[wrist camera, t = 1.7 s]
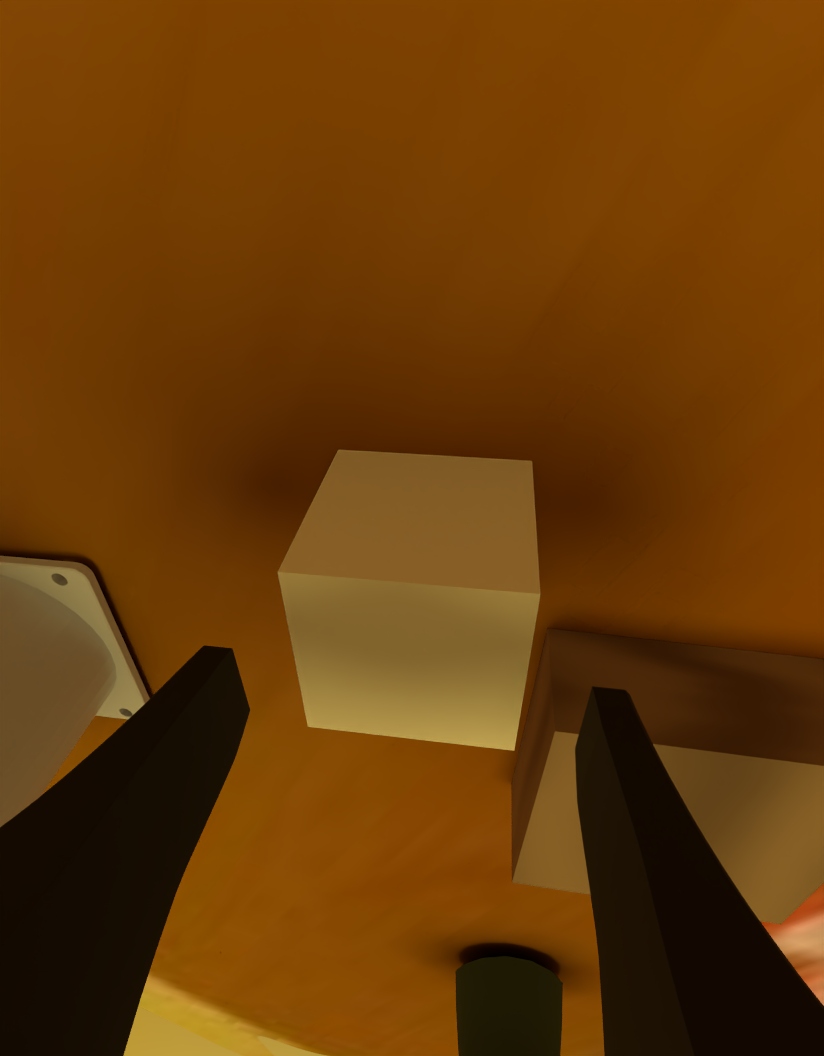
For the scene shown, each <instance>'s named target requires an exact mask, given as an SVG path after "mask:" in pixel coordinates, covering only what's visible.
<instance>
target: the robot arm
mask: <svg viewBox="0 0 824 1056" xmlns="http://www.w3.org/2000/svg"><path fill="white" fill-rule="evenodd" d="M249 712H250V708H249V705H248V701H247V698H246V694H245V691H244V687H243V684H242V680H241V677H240V674H239V670H238V667H237V663H236V660H235V656H234V653H233V649H232V648H223V647H213V646H203V647H202V648H201V649H200V650H199V651H198V652H197V653H196V654H195V655H194V656H193V657H192V658H190V659H189V660H188V661H187V662H186V663H185V664H184V665H183V666H182V667H181V668H180V669H179V670H178V671H177V672H176V673H175V674H174V675H173V676H172V677H171V678H170V679H169V680H168V681H167V682H166V683H165V684H164V685H163V686H162V687H161V688H160V689H159V690H158V691H157V692H156V693H155V694H154V695H153V696H152V697H151V698H149V696H148V694H147V691H146V689H145V687H144V685H143V682H142V680H141V678H140V676H139V673H138V671H137V669H136V667H135V664H134V662H133V660H132V658H131V656H130V653H129V651H128V649H127V647H126V644H125V642H124V640H123V638H122V635H121V633H120V631H119V629H118V626H117V624H116V622H115V620H114V618H113V615H112V613H111V611H110V609H109V606H108V604H107V602H106V600H105V597H104V595H103V593H102V591H101V588H100V586H99V584H98V582H97V580H96V577H95V575H94V573H93V572H92V570H91V569H90V568H88V567H87V566H86V565H84V564H82V563H77V562H68V561H57V560H45V559H33V558H22V557H10V556H0V1056H123V1055H124V1051H125V1048H126V1045H127V1041H128V1038H129V1035H130V1031H131V1028H132V1025H133V1021H134V1018H135V1015H136V1012H137V1008H138V1005H139V1002H140V998H141V995H142V992H143V989H144V986H145V983H146V980H147V977H148V974H149V971H150V968H151V965H152V962H153V958H154V955H155V952H156V949H157V946H158V943H159V940H160V937H161V935H162V932H163V929H164V926H165V923H166V920H167V917H168V914H169V912H170V909H171V906H172V903H173V900H174V897H175V894H176V892H177V889H178V887H179V884H180V882H181V879H182V877H183V874H184V872H185V869H186V867H187V865H188V862H189V860H190V858H191V856H192V853H193V851H194V849H195V847H196V845H197V842H198V840H199V838H200V836H201V834H202V831H203V829H204V827H205V825H206V822H207V820H208V818H209V816H210V814H211V811H212V809H213V807H214V805H215V802H216V800H217V798H218V796H219V794H220V791H221V789H222V787H223V784H224V782H225V780H226V778H227V775H228V773H229V771H230V769H231V766H232V764H233V762H234V759H235V757H236V754H237V751H238V747H239V744H240V741H241V738H242V735H243V732H244V729H245V725H246V722H247V719H248V715H249ZM94 716H104V717H112V718H121V719H128V720H127V721H126V722H125V723H124V724H123V725H122V726H121V727H120V728H119V729H118V730H117V731H116V732H114V733H113V734H112V735H111V736H110V737H109V738H108V739H107V740H106V741H105V742H103V743H102V744H101V745H100V746H99V747H98V748H97V749H96V750H94V751H93V752H92V753H91V754H90V755H89V756H88V757H86V758H85V759H84V760H83V761H82V762H81V763H80V764H78V765H77V766H76V767H75V768H74V769H73V770H72V771H70V772H69V773H68V774H67V775H66V776H65V777H63V778H62V779H61V780H60V781H59V782H57V783H56V784H55V785H54V786H53V787H51V788H50V789H49V790H48V791H46V792H45V793H44V794H43V795H42V793H43V792H44V791H45V789H46V788H47V786H48V785H49V783H50V782H51V780H52V779H53V777H54V776H55V774H56V773H57V771H58V770H59V768H60V767H61V765H62V764H63V762H64V761H65V759H66V758H67V756H68V755H69V754H70V752H71V751H72V749H73V748H74V746H75V745H76V743H77V742H78V740H79V739H80V737H81V736H82V734H83V733H84V731H85V730H86V728H87V727H88V725H89V724H90V722H91V721H92V719H93V718H94ZM575 763H576V788H577V805H578V812H579V819H580V826H581V833H582V840H583V847H584V854H585V860H586V867H587V874H588V881H589V887H590V894H591V901H592V908H593V914H594V921H595V928H596V936H597V945H598V954H599V967H600V983H601V998H602V1014H603V1032H604V1051H605V1056H824V1006H823V1005H822V1003H821V1002H820V1001H819V1000H818V998H817V997H816V996H815V995H814V993H813V992H812V991H811V990H810V988H809V987H808V986H807V985H806V983H805V982H804V981H803V979H802V978H801V977H800V976H799V974H798V973H797V972H796V970H795V969H794V967H793V966H792V965H791V963H790V962H789V961H788V959H787V958H786V957H785V955H784V954H783V953H782V951H781V950H780V948H779V947H778V946H777V944H776V943H775V942H774V940H773V939H772V938H771V936H770V935H769V933H768V932H767V931H766V929H765V928H764V926H763V925H762V923H761V922H760V921H759V919H758V918H757V916H756V915H755V913H754V912H753V911H752V909H751V908H750V906H749V905H748V903H747V902H746V901H745V899H744V898H743V896H742V895H741V893H740V892H739V890H738V889H737V887H736V886H735V884H734V883H733V881H732V880H731V878H730V876H729V875H728V873H727V872H726V870H725V869H724V867H723V866H722V864H721V862H720V861H719V859H718V858H717V856H716V855H715V853H714V851H713V850H712V848H711V847H710V845H709V843H708V842H707V840H706V839H705V837H704V835H703V834H702V832H701V830H700V829H699V827H698V825H697V824H696V822H695V820H694V819H693V817H692V815H691V813H690V812H689V810H688V808H687V806H686V804H685V803H684V801H683V799H682V797H681V796H680V794H679V792H678V790H677V789H676V787H675V785H674V783H673V781H672V780H671V778H670V776H669V774H668V772H667V770H666V769H665V767H664V765H663V763H662V761H661V759H660V757H659V755H658V753H657V751H656V749H655V747H654V745H653V743H652V741H651V739H650V737H649V735H648V733H647V731H646V729H645V727H644V725H643V723H642V721H641V719H640V716H639V714H638V712H637V710H636V708H635V705H634V703H633V701H632V698H631V696H630V694H629V693H628V692H627V691H626V690H623V689H613V688H604V687H594V686H592V689H591V692H590V696H589V699H588V703H587V707H586V710H585V714H584V718H583V721H582V725H581V728H580V732H579V736H578V739H577V743H576V746H575Z"/></svg>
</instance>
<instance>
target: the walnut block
mask: <svg viewBox="0 0 824 1056" xmlns="http://www.w3.org/2000/svg"><path fill="white" fill-rule="evenodd" d="M592 686H594V687H604V688H613V689H623V690H626V691H627V692H628V693H629V694H630V696H631V698H632V701H633V703H634V705H635V708H636V710H637V712H638V714H639V716H640V719H641V721H642V723H643V725H644V727H645V729H646V731H647V733H648V735H649V737H650V739H651V741H652V743H653V745H654V747H655V749H656V751H657V753H658V755H659V757H660V759H661V761H662V763H663V765H664V767H665V769H666V770H667V772H668V774H669V776H670V778H671V780H672V781H673V783H674V785H675V787H676V789H677V790H678V792H679V794H680V796H681V797H682V799H683V801H684V803H685V804H686V806H687V808H688V810H689V812H690V813H691V815H692V817H693V819H694V820H695V822H696V824H697V825H698V827H699V829H700V830H701V832H702V834H703V835H704V837H705V839H706V840H707V842H708V843H709V845H710V847H711V848H712V850H713V851H714V853H715V855H716V856H717V858H718V859H719V861H720V862H721V864H722V866H723V867H724V869H725V870H726V872H727V873H728V875H729V876H730V878H731V880H732V881H733V883H734V884H735V886H736V887H737V889H738V890H739V892H740V893H741V895H742V896H743V898H744V899H745V901H746V902H747V903H748V905H749V906H750V908H751V909H752V911H753V912H754V913H755V915H756V916H757V918H758V919H759V921H763V922H769V923H776V924H782V923H783V922H784V921H785V920H786V919H787V918H788V917H789V916H790V915H791V914H792V913H793V912H794V911H795V910H796V909H797V908H798V907H799V906H800V905H801V904H802V903H803V902H804V901H805V900H806V899H807V898H808V897H809V896H810V895H811V894H812V893H813V892H814V891H816V890H817V889H818V888H819V887H820V886H821V885H822V884H823V883H824V659H819V658H810V657H801V656H792V655H783V654H774V653H765V652H756V651H747V650H738V649H730V648H721V647H712V646H703V645H694V644H685V643H676V642H667V641H658V640H649V639H640V638H631V637H622V636H613V635H604V634H595V633H586V632H577V631H568V630H559V629H550V628H547V633H546V637H545V641H544V646H543V650H542V654H541V659H540V663H539V667H538V672H537V676H536V680H535V685H534V689H533V693H532V698H531V702H530V706H529V711H528V715H527V719H526V724H525V728H524V732H523V737H522V741H521V745H520V750H519V754H518V758H517V763H516V767H515V771H514V776H513V780H512V883H519V884H525V885H532V886H538V887H544V888H551V889H557V890H564V891H570V892H577V893H583V894H589V895H591V894H590V887H589V881H588V874H587V867H586V860H585V854H584V847H583V840H582V833H581V826H580V819H579V812H578V805H577V788H576V763H575V746H576V743H577V739H578V736H579V732H580V728H581V725H582V721H583V718H584V714H585V710H586V707H587V703H588V699H589V696H590V692H591V689H592Z"/></svg>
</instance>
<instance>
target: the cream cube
mask: <svg viewBox="0 0 824 1056" xmlns="http://www.w3.org/2000/svg"><path fill="white" fill-rule="evenodd" d="M278 577H279V582H280V587H281V592H282V597H283V602H284V607H285V612H286V617H287V622H288V628H289V633H290V638H291V643H292V648H293V653H294V658H295V663H296V668H297V673H298V679H299V684H300V689H301V694H302V699H303V704H304V709H305V714H306V719H307V724H308V727H315V728H324V729H332V730H341V731H349V732H358V733H367V734H375V735H384V736H392V737H401V738H410V739H418V740H427V741H435V742H444V743H453V744H461V745H470V746H479V747H487V748H496V749H504V750H513V751H514V749H515V743H516V737H517V731H518V725H519V719H520V713H521V707H522V701H523V695H524V689H525V684H526V678H527V672H528V666H529V660H530V654H531V648H532V642H533V636H534V630H535V624H536V618H537V612H538V606H539V600H540V579H539V562H538V546H537V530H536V514H535V498H534V482H533V466H532V461H528V460H511V459H493V458H476V457H459V456H442V455H424V454H407V453H390V452H373V451H355V450H338V451H337V453H336V455H335V457H334V459H333V461H332V463H331V465H330V467H329V469H328V471H327V473H326V475H325V477H324V479H323V481H322V483H321V485H320V487H319V489H318V491H317V493H316V495H315V497H314V499H313V501H312V503H311V505H310V507H309V509H308V511H307V513H306V515H305V517H304V520H303V522H302V524H301V526H300V528H299V530H298V532H297V534H296V536H295V538H294V540H293V542H292V544H291V546H290V548H289V550H288V552H287V554H286V556H285V558H284V560H283V562H282V564H281V566H280V568H279V570H278Z"/></svg>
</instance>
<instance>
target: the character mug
mask: <svg viewBox="0 0 824 1056" xmlns="http://www.w3.org/2000/svg"><path fill="white" fill-rule="evenodd" d="M562 985H563V983H562V982H561V981H560V980H559V979H558V978H557V977H556V976H555V975H554V973H553V972H552V971H550V970H548V969H546V968H544V967H542V966H540V965H538V964H536V963H534V962H533V961H529V960H524V959H519V958H514V957H509V956H501V957H489V958H481V959H478V960H475V961H472V962H469V963H466V964H464V965H462V966H461V967H460V968H459V969H457V970H456V1012H457V1030H458V1050H459V1056H560V1049H561V1031H562Z"/></svg>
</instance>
